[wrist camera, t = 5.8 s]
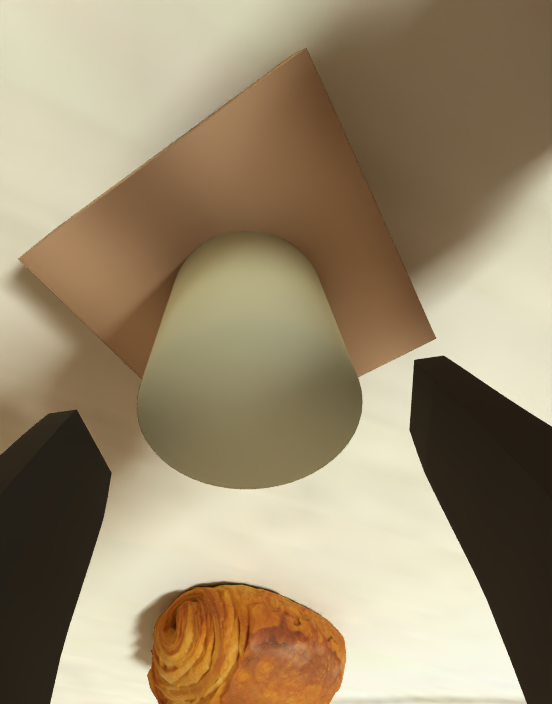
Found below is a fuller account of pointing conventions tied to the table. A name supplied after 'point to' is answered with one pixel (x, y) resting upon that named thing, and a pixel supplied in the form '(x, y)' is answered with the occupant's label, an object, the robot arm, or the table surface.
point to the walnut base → (239, 223)
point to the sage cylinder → (248, 368)
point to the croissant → (244, 650)
